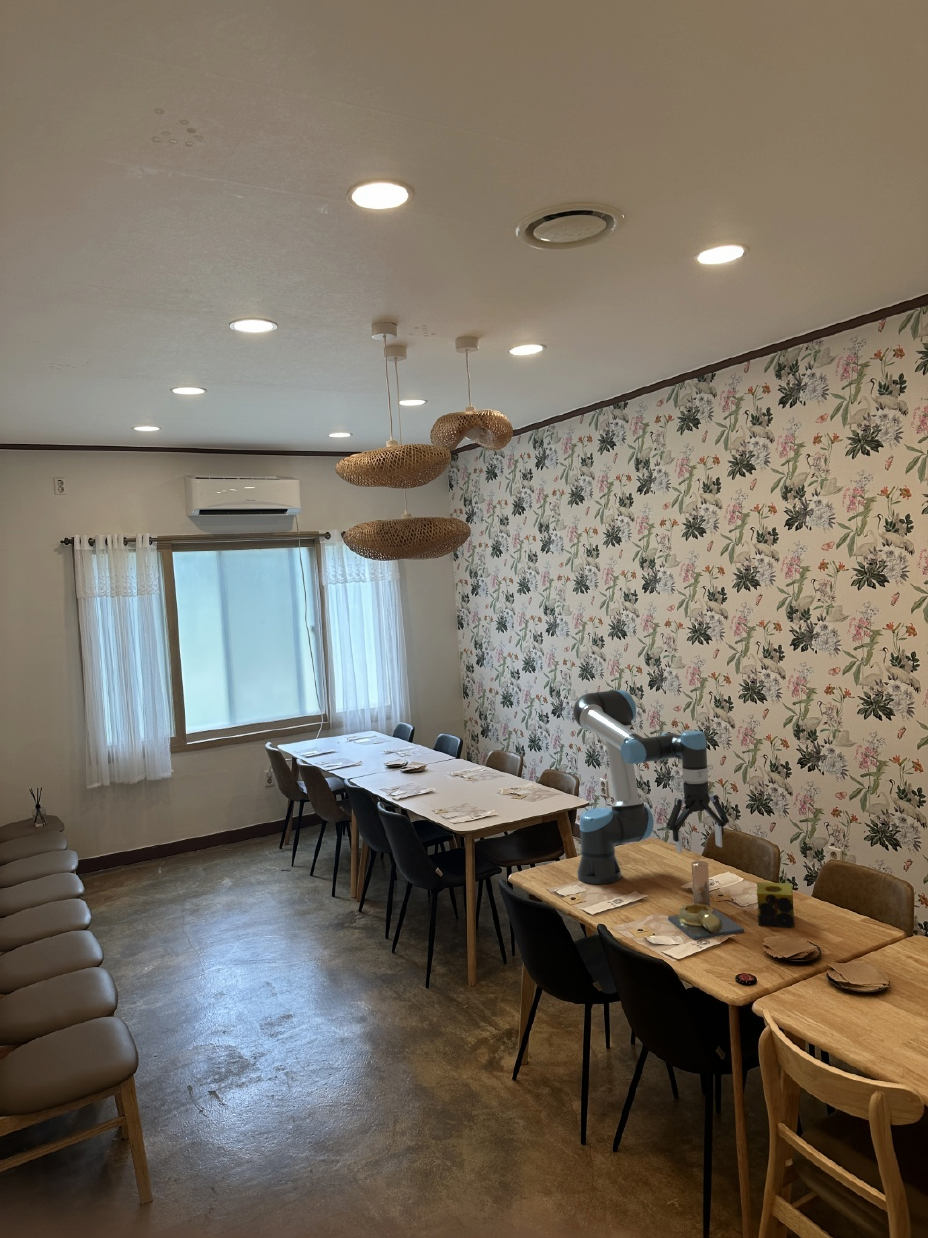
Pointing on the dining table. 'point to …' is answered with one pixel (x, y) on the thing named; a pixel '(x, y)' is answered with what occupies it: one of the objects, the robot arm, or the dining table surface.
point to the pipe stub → (700, 883)
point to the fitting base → (704, 931)
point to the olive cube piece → (775, 904)
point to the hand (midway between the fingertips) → (699, 848)
